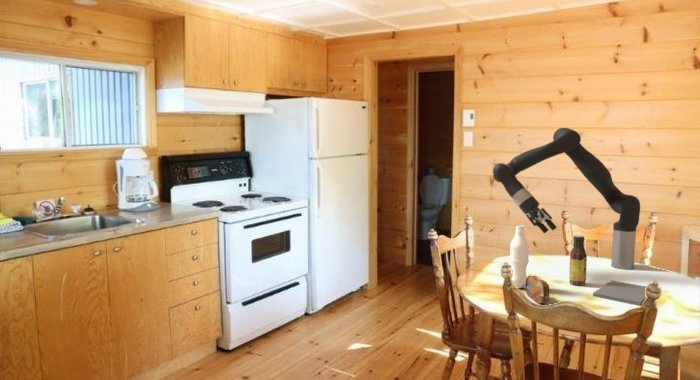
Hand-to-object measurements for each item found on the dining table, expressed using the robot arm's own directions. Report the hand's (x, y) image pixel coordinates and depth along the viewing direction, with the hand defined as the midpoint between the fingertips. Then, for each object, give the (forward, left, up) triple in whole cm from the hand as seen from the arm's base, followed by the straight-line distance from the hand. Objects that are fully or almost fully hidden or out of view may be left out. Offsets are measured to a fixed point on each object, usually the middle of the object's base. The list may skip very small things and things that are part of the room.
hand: (550, 230), depth 215 cm
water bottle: (+20, -4, -21) cm, 29 cm away
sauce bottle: (0, +12, -21) cm, 24 cm away
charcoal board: (+1, +30, -21) cm, 36 cm away
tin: (+30, +8, -21) cm, 37 cm away
